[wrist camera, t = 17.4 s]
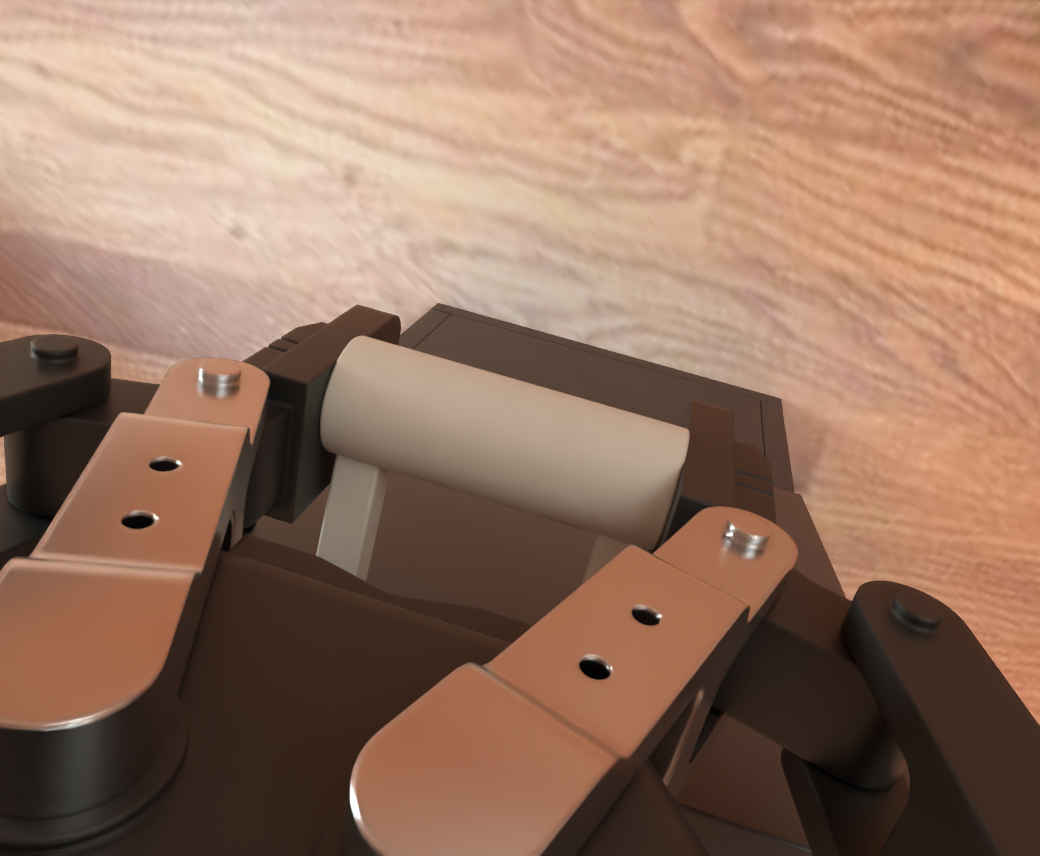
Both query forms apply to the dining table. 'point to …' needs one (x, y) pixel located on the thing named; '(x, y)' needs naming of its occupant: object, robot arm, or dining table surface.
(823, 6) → the dining table surface
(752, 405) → the tapered storage bin
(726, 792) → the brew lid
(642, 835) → the robot arm
